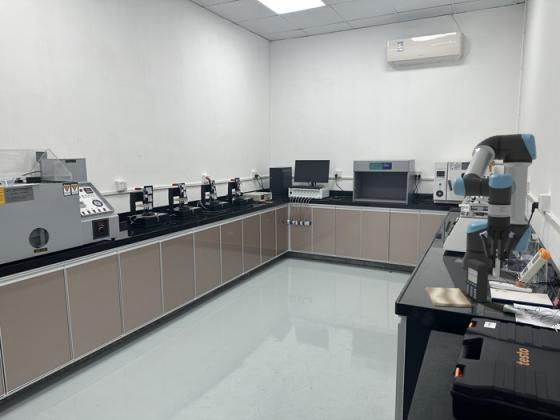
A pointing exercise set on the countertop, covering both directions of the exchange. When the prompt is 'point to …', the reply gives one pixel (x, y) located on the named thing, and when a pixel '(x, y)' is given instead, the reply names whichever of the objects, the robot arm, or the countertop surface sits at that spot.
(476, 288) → the card reader
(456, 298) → the birch board
